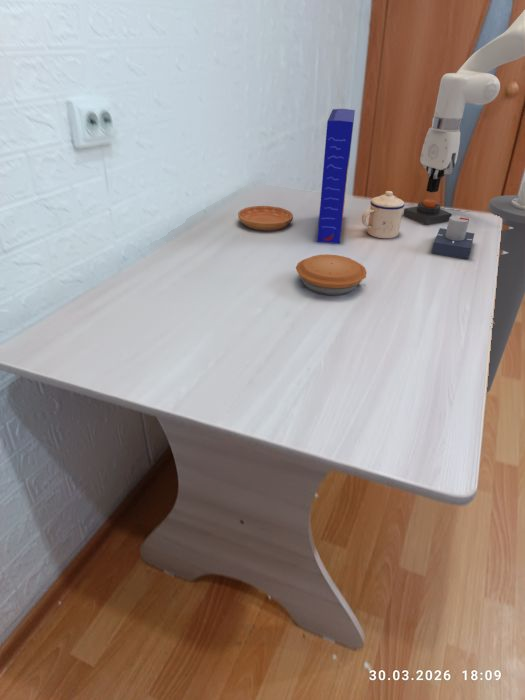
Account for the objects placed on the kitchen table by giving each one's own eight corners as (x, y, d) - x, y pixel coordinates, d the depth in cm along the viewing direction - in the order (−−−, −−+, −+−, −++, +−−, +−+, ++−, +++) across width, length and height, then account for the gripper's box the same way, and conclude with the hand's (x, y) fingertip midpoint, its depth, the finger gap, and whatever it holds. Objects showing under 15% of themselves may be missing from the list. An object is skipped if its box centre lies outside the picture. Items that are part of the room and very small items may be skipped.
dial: (444, 238, 124) (449, 218, 121) (446, 233, 128) (450, 213, 125) (463, 241, 123) (469, 221, 120) (464, 235, 126) (470, 216, 124)
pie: (288, 294, 103) (289, 273, 100) (302, 266, 115) (303, 246, 113) (360, 304, 100) (364, 282, 97) (367, 274, 112) (370, 254, 109)
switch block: (426, 211, 154) (429, 198, 151) (450, 220, 146) (453, 207, 144) (403, 215, 150) (405, 202, 147) (425, 225, 142) (428, 211, 140)
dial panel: (437, 238, 133) (439, 227, 131) (471, 243, 130) (474, 232, 128) (431, 253, 124) (434, 241, 122) (467, 259, 121) (471, 247, 119)
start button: (429, 203, 148) (430, 198, 147) (437, 207, 145) (438, 201, 144) (420, 205, 147) (421, 199, 146) (428, 208, 144) (430, 202, 143)
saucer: (295, 217, 146) (295, 207, 145) (289, 235, 133) (289, 224, 131) (243, 213, 148) (243, 203, 146) (233, 230, 135) (232, 220, 133)
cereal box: (339, 243, 128) (353, 120, 112) (317, 241, 129) (327, 119, 113) (342, 218, 146) (355, 109, 130) (323, 216, 147) (332, 108, 131)
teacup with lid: (386, 226, 141) (392, 185, 134) (405, 236, 134) (413, 194, 127) (351, 231, 137) (356, 189, 130) (369, 242, 130) (375, 199, 123)
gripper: (417, 121, 137) (405, 186, 147) (457, 129, 126) (441, 199, 136) (436, 119, 140) (423, 184, 150) (477, 127, 129) (460, 196, 139)
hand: (432, 191), depth 143 cm, fingers closed
